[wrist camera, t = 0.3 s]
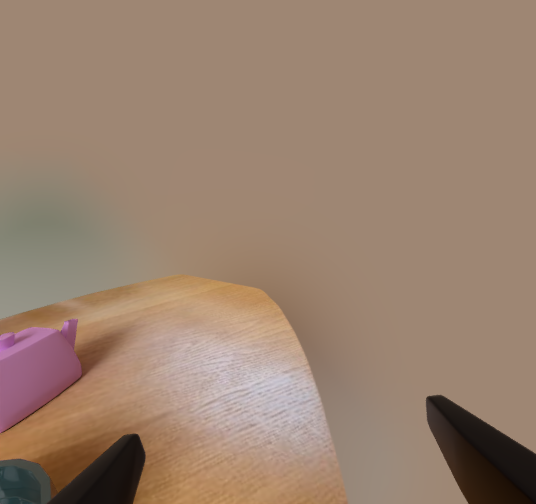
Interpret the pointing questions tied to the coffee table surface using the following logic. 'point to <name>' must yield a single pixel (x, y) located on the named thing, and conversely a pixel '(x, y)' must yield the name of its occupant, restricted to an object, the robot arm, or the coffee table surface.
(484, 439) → the robot arm
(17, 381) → the teapot
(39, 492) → the basin
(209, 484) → the coffee table surface
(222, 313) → the coffee table surface
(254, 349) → the coffee table surface
